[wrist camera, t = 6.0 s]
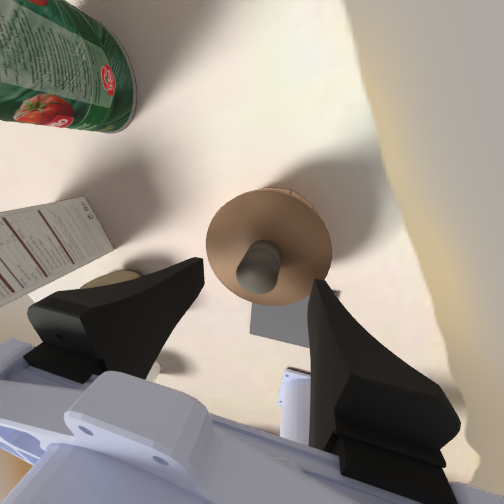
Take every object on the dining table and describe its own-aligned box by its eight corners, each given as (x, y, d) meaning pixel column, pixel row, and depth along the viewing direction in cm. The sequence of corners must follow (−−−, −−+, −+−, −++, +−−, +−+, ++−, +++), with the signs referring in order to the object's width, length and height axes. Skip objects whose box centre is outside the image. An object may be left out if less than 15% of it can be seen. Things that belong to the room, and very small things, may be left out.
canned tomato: (104, -6, 14) (-297, -330, 5) (152, 116, 17) (-36, 67, 8) (42, 46, 17) (-301, -98, 7) (93, 144, 20) (-104, 134, 10)
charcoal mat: (318, 347, 25) (318, 350, 24) (250, 331, 26) (249, 333, 26) (336, 292, 21) (336, 294, 20) (254, 276, 22) (253, 278, 22)
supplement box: (80, 256, 28) (-66, 321, 17) (47, 205, 25) (-152, 244, 14) (117, 251, 26) (-23, 322, 15) (86, 195, 23) (-115, 231, 12)
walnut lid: (315, 309, 17) (318, 345, 14) (212, 288, 19) (193, 316, 16) (346, 196, 13) (361, 210, 9) (206, 183, 15) (178, 191, 11)
